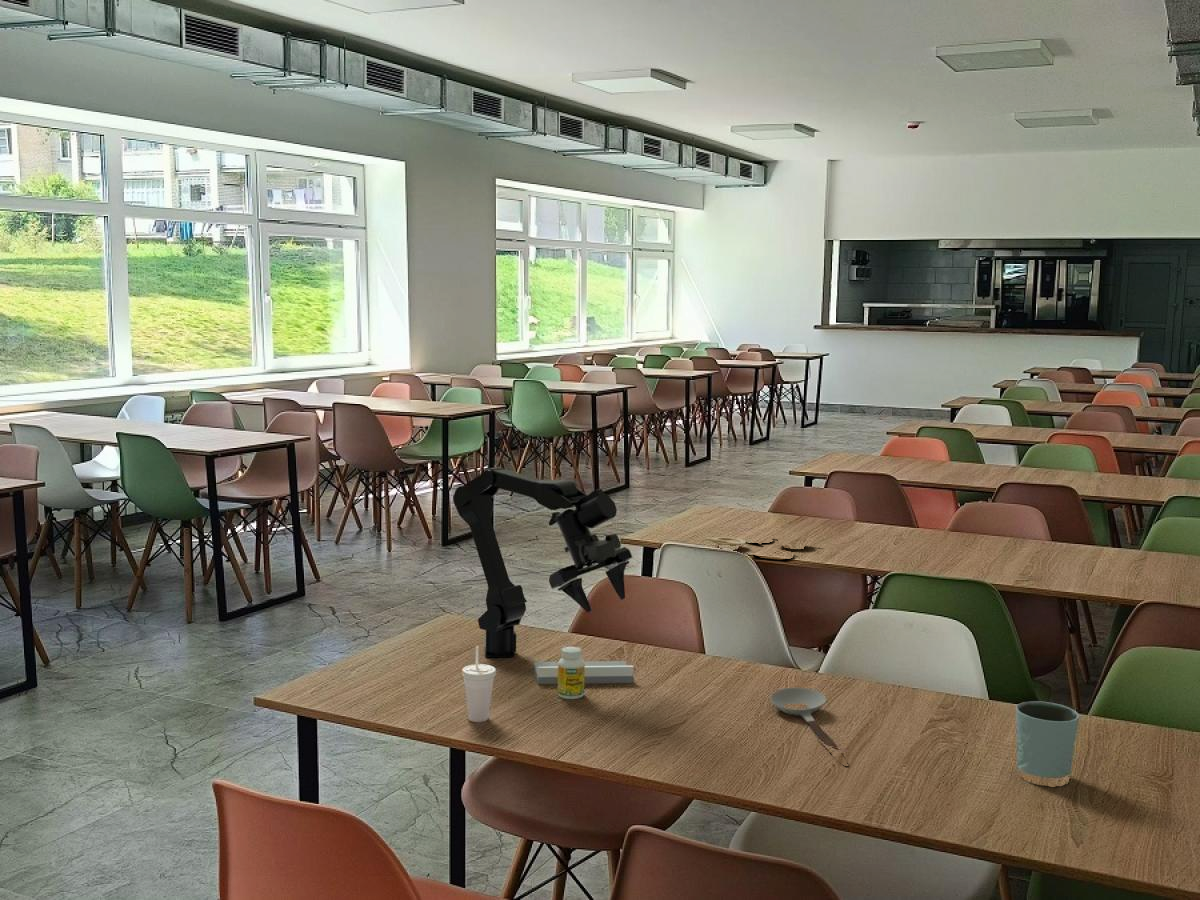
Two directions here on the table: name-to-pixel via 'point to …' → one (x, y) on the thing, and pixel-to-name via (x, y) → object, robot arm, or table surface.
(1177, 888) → the table surface
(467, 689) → the smoothie
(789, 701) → the grey frying pan
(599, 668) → the grey panel
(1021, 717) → the grey-green cup
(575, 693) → the supplement bottle
